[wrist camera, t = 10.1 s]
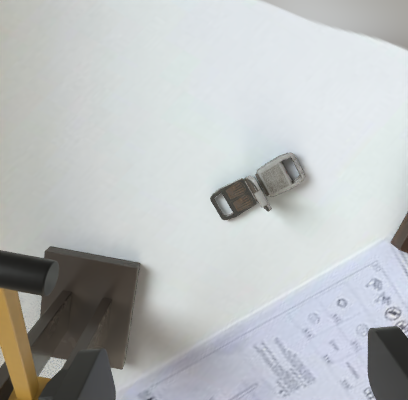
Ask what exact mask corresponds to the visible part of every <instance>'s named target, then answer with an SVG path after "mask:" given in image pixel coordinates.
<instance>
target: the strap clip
mask: <svg viewBox="0 0 408 400" xmlns="http://www.w3.org/2000/svg"><path fill="white" fill-rule="evenodd" d="M290 157H291V159H292V161H293V162H294V164H295V166H296V168H297V170H298V172H299V177H297V178H296V179H294V180H293V181H292V180H291V178H290V176H289V174H288V173H287V171H286V169H285V167H284V165H283V163H282V161H283V160H285V159H287V158H290ZM255 176H256V178H257V179H258V181H259V183H260V185H261V187H262V188H263V190H264V192H265V194H266V196H268V195H270V196H271V197H274V196H276V195H278V194H280V193H282V192H285V191H287V190H289V189H291V188H293V187H295V186H297V185H298V184H299V183H300V182H302V181H303V180H304V178H305V174H304V172H303V170H302V168H301V166H300V164H299V162H298V160H297V158H296V157H295V155H294V154H293V153H286V154H283V155H280V156H278V157H276V158H275V159H273V160H271V161H270V162H268V163H267V164H265V165H264V166H262V167H260V168H259V169H257V174H255ZM220 193H222V194H223V196H224V198H225V199H226V201H227V203H228V204H229V206H230V208H231V210H232V211H233V213H231V214H229V215H226V216H225V215H224V214H223V213H222V211H221V209H220V208H219V206H218V204H217V203H216V201H215V199H214V198H215V197H216V196H217V195H219V194H220ZM210 199H211V202H212V204H213V205H214V207H215V208H216V210H217V212H218V213H219V215H220V217H221V218H222V219H223V220H228V219H231V218H234V217H236V216H238V215H239V214H241V213H243V212H244V211H246V210H248V209H249V208H251V207H252V206H254V205H256V201H258V202H259V204H260V206H261V207H263V208H264V209H265V210H267V211H270V210H271V209H272V208H271V206H270V204H269V203H268V201H267V199H266V197H265V195H264V194H263V192H262V190H261V188H260V186H259V185H258V183H257V181H256V179H255V178H254V177H251V176H248V177H246V178H245V180H244V179H243V178H241V179H238V180H236V181H234V182H232V183H230V184H228V185H226V186H224V187H222V188H220V189H218V190H217V191H216V192H215V193H214V194H212V196H211V198H210Z"/></svg>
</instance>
